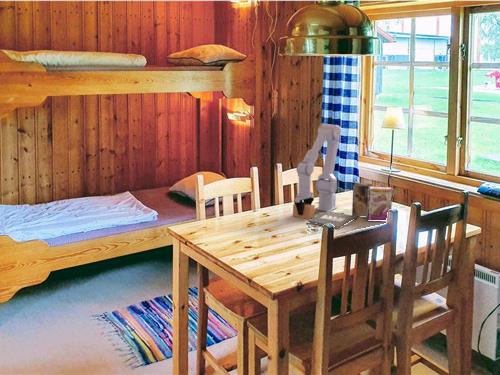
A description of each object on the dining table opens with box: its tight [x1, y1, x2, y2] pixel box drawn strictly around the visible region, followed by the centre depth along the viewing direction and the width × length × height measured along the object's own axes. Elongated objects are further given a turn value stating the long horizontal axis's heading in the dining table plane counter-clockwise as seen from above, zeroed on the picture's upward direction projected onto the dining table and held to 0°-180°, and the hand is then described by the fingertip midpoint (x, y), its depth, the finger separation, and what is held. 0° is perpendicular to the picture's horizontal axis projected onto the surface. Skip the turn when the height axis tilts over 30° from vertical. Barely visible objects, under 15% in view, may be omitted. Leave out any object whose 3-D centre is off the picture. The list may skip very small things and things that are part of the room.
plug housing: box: [292, 203, 316, 220], centre depth 279 cm, size 5×10×6 cm, turn 56°
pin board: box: [307, 210, 358, 229], centre depth 273 cm, size 20×16×5 cm
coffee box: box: [351, 182, 374, 216], centre depth 280 cm, size 9×6×16 cm
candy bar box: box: [365, 186, 394, 221], centre depth 272 cm, size 11×5×16 cm, turn 84°
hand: (303, 213), depth 280 cm, fingers open, 6 cm apart
